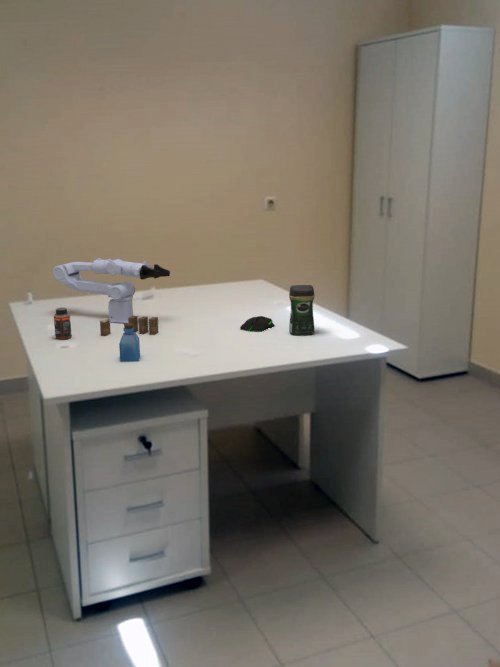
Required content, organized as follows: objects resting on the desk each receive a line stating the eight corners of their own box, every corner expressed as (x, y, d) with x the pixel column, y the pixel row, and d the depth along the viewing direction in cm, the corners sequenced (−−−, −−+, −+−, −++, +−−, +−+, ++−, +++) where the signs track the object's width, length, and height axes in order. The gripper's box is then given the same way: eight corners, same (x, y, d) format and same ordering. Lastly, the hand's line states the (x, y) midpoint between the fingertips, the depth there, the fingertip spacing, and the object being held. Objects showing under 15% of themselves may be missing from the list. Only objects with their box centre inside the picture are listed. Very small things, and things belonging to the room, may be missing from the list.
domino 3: (149, 334, 272) (148, 319, 270) (153, 332, 276) (153, 317, 274) (154, 335, 271) (153, 319, 270) (158, 332, 275) (157, 317, 273)
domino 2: (139, 334, 273) (138, 318, 272) (143, 331, 277) (142, 316, 275) (143, 334, 273) (143, 319, 271) (148, 331, 276) (147, 316, 275)
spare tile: (100, 335, 271) (99, 320, 269) (105, 333, 274) (104, 318, 273) (105, 336, 270) (104, 320, 269) (110, 333, 274) (109, 318, 272)
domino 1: (128, 333, 274) (128, 318, 273) (133, 330, 278) (132, 315, 276) (133, 333, 274) (132, 318, 272) (138, 330, 277) (137, 315, 276)
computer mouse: (281, 324, 287) (281, 314, 286) (264, 334, 273) (264, 324, 272) (255, 321, 292) (255, 312, 291) (237, 331, 278) (237, 321, 277)
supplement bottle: (74, 336, 270) (72, 307, 267) (66, 340, 265) (63, 310, 262) (61, 335, 272) (59, 306, 269) (52, 339, 267) (49, 309, 264)
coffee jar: (312, 330, 277) (313, 282, 272) (315, 335, 269) (316, 287, 264) (287, 330, 276) (288, 283, 271) (289, 336, 269) (290, 287, 264)
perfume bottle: (121, 356, 245) (119, 322, 242) (140, 355, 245) (138, 321, 242) (120, 361, 239) (118, 327, 236) (138, 361, 240) (137, 326, 236)
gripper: (125, 260, 278) (155, 264, 272) (145, 259, 291) (174, 263, 286) (124, 278, 279) (154, 282, 274) (143, 276, 292) (172, 280, 287)
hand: (164, 273), depth 280 cm, fingers open, 7 cm apart
